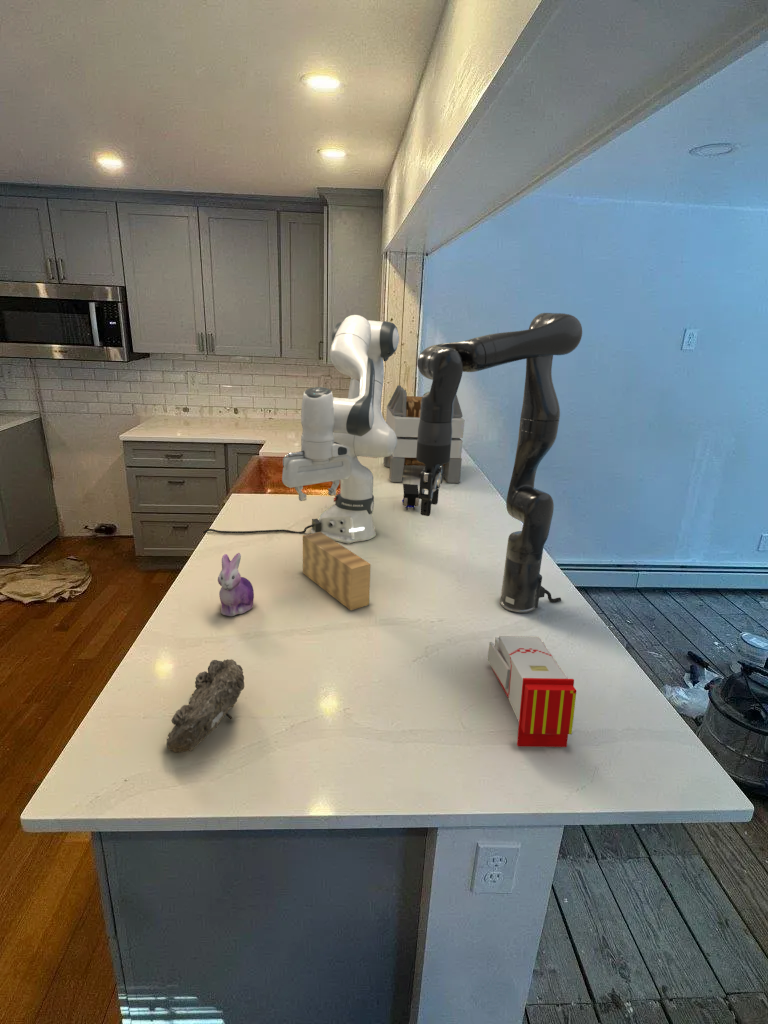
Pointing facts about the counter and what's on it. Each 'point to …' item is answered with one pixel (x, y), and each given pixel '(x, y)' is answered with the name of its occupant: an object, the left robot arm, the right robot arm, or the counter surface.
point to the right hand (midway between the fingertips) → (429, 509)
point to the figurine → (234, 588)
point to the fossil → (206, 705)
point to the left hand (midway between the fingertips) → (317, 497)
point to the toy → (534, 690)
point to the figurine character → (410, 496)
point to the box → (336, 570)
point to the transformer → (405, 425)
